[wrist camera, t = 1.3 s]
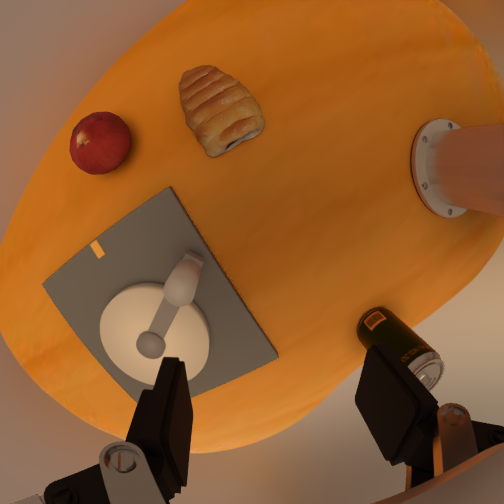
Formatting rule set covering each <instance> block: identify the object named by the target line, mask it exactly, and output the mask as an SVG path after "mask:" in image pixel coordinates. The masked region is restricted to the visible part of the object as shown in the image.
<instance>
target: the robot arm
mask: <svg viewBox="0 0 504 504" xmlns="http://www.w3.org/2000/svg"><path fill="white" fill-rule="evenodd" d="M411 163H412V173H413V178H414V183H415V186H416V189H417V191H418V193H419V195H420V197H421V199H422V201H423V202H424V204H425V205H426V206H427V207H428V208H429V209H430V210H431V211H432V212H433V213H435V214H437V215H439V216H442V217H446V218H455V217H458V216H460V215H462V214H463V213H465V212H466V211H467V210H468V209H469V210H474V211H479V212H483V213H488V214H492V215H496V216H500V217H504V124H496V125H485V126H476V127H467V128H461V127H460V126H459V125H458V124H456V123H455V122H453V121H451V120H447V119H435V120H431V121H429V122H427V123H426V124H425V125H424V126H423V127H421V129H420V130H419V132H418V133H417V135H416V138H415V140H414V144H413V149H412V159H411ZM355 403H356V406H357V407H358V409H359V411H360V413H361V415H362V417H363V418H364V421H365V422H366V424H367V426H368V428H369V430H370V432H371V434H372V436H373V437H374V439H375V441H376V443H377V445H378V447H379V449H380V451H381V452H382V454H383V456H384V458H385V460H387V461H388V460H389V461H390V463H391V465H392V466H394V465H396V464H399V463H402V462H405V464H406V484H405V485H406V486H405V491H404V492H402V493H399V494H397V495H395V496H392V497H389V498H386V499H384V500H381V501H378V502H375V503H372V504H504V427H503V426H499V425H493V424H487V423H482V422H477V421H472V420H471V418H470V414H469V412H468V411H467V409H466V408H465V407H463V406H461V405H459V404H455V403H447V404H444V405H442V406H441V407H440V408H439V406H438V405H437V403H438V401H437V400H436V399H435V398H434V397H433V395H432V394H431V393H430V392H429V391H428V390H427V388H426V387H425V386H424V385H423V384H422V383H421V381H420V380H419V379H418V378H417V377H416V376H415V374H414V373H413V372H412V371H411V370H410V369H409V368H408V366H407V365H406V364H405V363H404V362H403V361H402V360H401V359H400V357H399V356H398V355H397V354H396V353H395V352H394V351H393V350H392V348H391V347H390V346H389V345H388V344H387V343H378V344H373V345H372V346H371V348H369V349H368V350H367V353H366V357H365V361H364V365H363V370H362V373H361V377H360V381H359V385H358V388H357V392H356V395H355ZM192 424H193V409H192V403H191V398H190V392H189V386H188V380H187V374H186V368H185V362H184V361H180V360H179V358H178V357H163V359H162V362H161V365H160V368H159V371H158V375H157V378H156V381H155V384H154V387H153V390H150V389H144V390H143V391H142V393H141V395H140V398H139V401H138V404H137V407H136V410H135V413H134V416H133V419H132V422H131V425H130V428H129V431H128V434H127V437H126V441H125V442H123V441H122V442H114V443H111V444H109V445H107V446H106V447H104V449H103V450H102V451H101V453H100V456H99V464H97V465H94V466H92V467H90V468H87V469H85V470H82V471H80V472H78V473H75V474H73V475H70V476H68V477H65V478H62V479H60V480H57V481H54V482H52V483H51V484H49V485H48V486H47V487H46V489H45V492H44V495H42V496H39V495H38V494H36V495H33V496H31V497H28V498H26V499H23V500H20V501H18V502H15V503H12V504H170V502H169V500H170V499H172V498H174V495H175V493H181V486H184V487H186V485H187V475H188V462H189V453H190V443H191V433H192Z"/></svg>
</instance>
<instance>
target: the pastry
mask: <svg viewBox="0 0 504 504" xmlns="http://www.w3.org/2000/svg"><path fill="white" fill-rule="evenodd" d="M179 91H180V99H181V105H182V107H183V110H184V112H185V114H186V124H187V125H188V126H189V127H190V128H191V129H192V130H193V132H194V133H195V135H196V137H197V139H198V141H199V142H200V143H201V144H202V145H203V147H204V148H205V150H206V153H207V155H209V156H211V157H217V156H219V155H220V154H222V153H223V152H227V151H229V150H231V149H233V148H234V147H235V146H236V145H238V144H239V143H240V142H241V141H243V140H249V139H252V138H254V137H255V136H257V135H259V134H260V132H261V131H262V130H263V128H264V126H265V120H264V118H263V116H262V111H261V108H260V106H259V104H258V103H257V101H256V100H255V99H254V97H253V96H252V95H251V94H250V93H249V91H248V90H247V88H246V87H245V86H243V85H242V84H241V83H240V82H239V81H238V80H236V79H234V78H232V77H231V76H230V75H227V74H225V73H223V72H222V71H220V70H219V69H218V68H216V67H213V66H210V65H207V66H200V67H197V68H194V69H192V70H188V71H186V72H184V73H183V75H182V78H181V81H180V83H179Z"/></svg>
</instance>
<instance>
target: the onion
mask: <svg viewBox="0 0 504 504" xmlns="http://www.w3.org/2000/svg"><path fill="white" fill-rule="evenodd" d="M130 140H131V137H130V133H129V129H128V127H127V125H126V124H125V123H124V121H123V120H122V119H121V118H120V117H119V116H117V115H115V114H113V113H110V112H95V113H92V114H90V115H88V116H87V117H85V118H83V119H82V120H81V121H80V122H79V123H78V124H77V125H76V127H75V128H74V129H73V132H72V136H71V140H70V154H71V157H72V160H73V162H74V163H75V164H76V165H77V166H78V167H79V168H80V169H81V170H83V171H85V172H87V173H89V174H92V175H96V174H106V173H108V172H110V171H112V170H114V169H116V168H117V167H118V166H119V165H120V164H121V163H122V162H123V161H124V159H125V157H126V155H127V153H128V151H129V147H130Z"/></svg>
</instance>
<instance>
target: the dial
mask: <svg viewBox="0 0 504 504" xmlns="http://www.w3.org/2000/svg"><path fill="white" fill-rule="evenodd" d="M204 260H205V259H204V258H202V257H200V256H198V255H196V254H194V253H193V252H191V251H189V250H187V252H186V254H185V256H184V257H182V258H181V259H180V260H179V261H178V263H177V264H176V266H175V268H174V269H173V271H172V273H171V274H170V276H169V278H168V279H167V281H166V283H165V285H164V284H159V283H149V282H147V283H138V284H134V285H131V286H128V287H127V288H125V289H123V290H122V291H120V292H119V293H118V294H117V295H116V296H115V297H114V298H113V299H112V300H111V302H110V303H109V304H108V305H107V306H106V308H105V309H104V311H103V314H102V316H101V320H100V336H101V341H102V344H103V346H104V349H105V351H106V353H107V354H108V356H109V357H110V359H111V360H112V361H113V362H114V364H115V365H116V366H117V367H118V368H119V369H121V370H122V371H123V372H124V373H126V374H127V375H129V376H130V377H132V378H134V379H136V380H138V381H141V382H143V383H146V384H150V385H154V384H155V381H156V378H157V375H158V371H159V368H160V365H161V362H162V359H163V357H178V358H179V360H180V361H184V362H185V368H186V374H187V380H188V381H189V380H191V379H192V378H193V377H195V376H196V375H197V374H198V373H199V372H200V371H201V370H202V368H203V367H204V365H205V363H206V361H207V358H208V353H209V343H210V333H209V327H208V324H207V321H206V319H205V317H204V315H203V313H202V311H201V310H200V309H199V307H198V306H197V305H196V304H195V303H194V302H193V301H192V300H193V298H194V295H195V292H196V288H197V285H198V281H199V278H200V274H201V270H202V265H203V263H204Z"/></svg>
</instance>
